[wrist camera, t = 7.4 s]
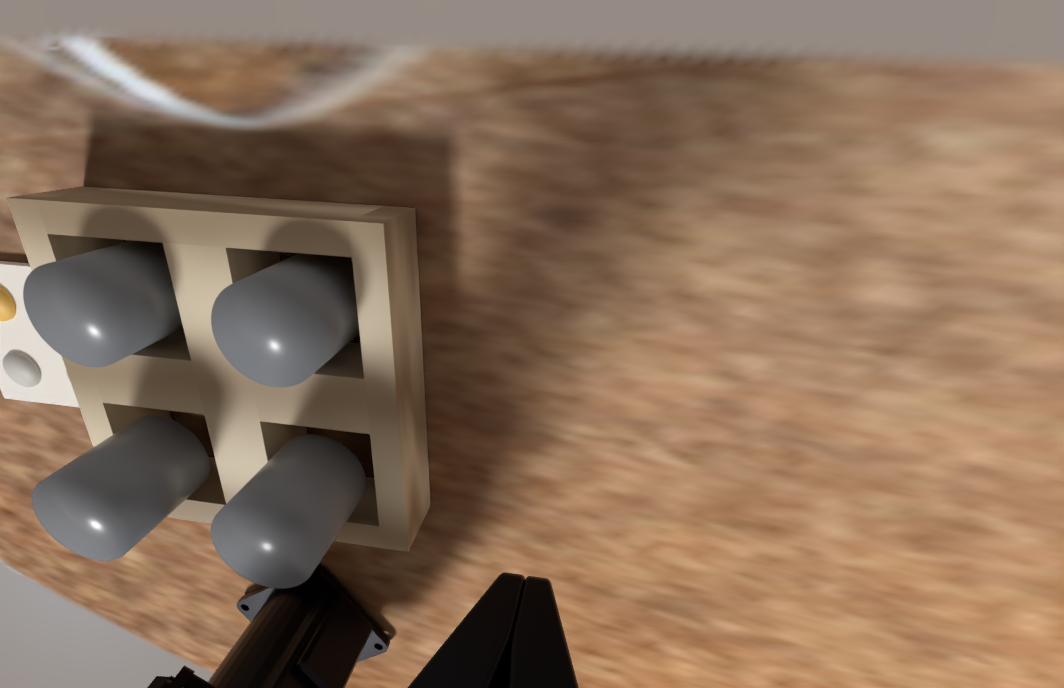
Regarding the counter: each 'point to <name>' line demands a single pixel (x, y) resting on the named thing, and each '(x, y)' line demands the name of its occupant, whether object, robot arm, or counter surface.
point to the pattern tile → (27, 348)
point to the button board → (222, 391)
